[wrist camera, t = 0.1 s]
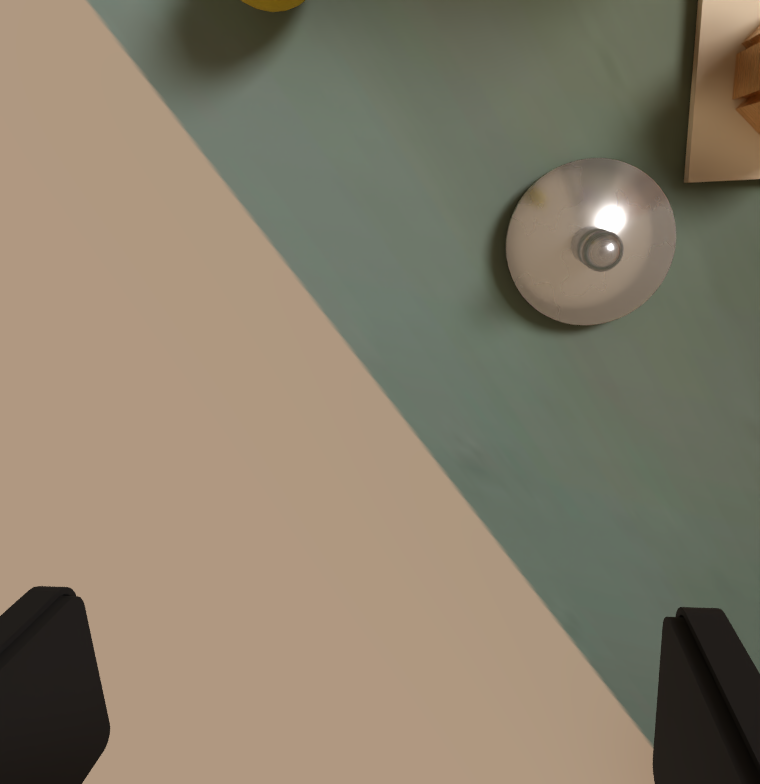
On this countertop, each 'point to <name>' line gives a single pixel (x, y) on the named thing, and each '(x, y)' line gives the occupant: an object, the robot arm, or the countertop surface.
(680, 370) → the countertop surface
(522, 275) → the hub
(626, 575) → the countertop surface
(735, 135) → the stand
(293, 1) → the lemon
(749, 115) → the collar
